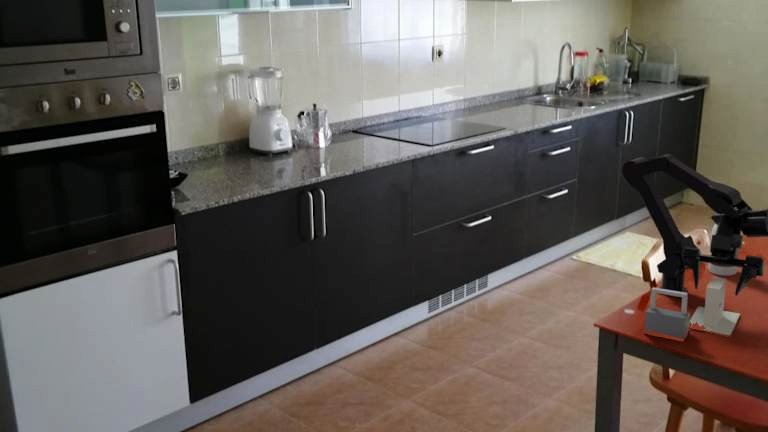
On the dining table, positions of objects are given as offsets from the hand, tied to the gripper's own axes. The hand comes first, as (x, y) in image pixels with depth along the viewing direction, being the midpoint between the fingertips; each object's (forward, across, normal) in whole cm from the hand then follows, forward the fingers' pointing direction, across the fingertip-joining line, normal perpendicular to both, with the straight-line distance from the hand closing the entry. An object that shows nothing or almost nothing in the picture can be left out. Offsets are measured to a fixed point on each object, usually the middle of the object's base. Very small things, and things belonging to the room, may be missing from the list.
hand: (715, 291), depth 194 cm
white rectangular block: (+5, 0, +5) cm, 8 cm away
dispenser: (+14, -8, -2) cm, 17 cm away
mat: (+6, 0, +6) cm, 8 cm away
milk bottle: (-21, -4, +33) cm, 40 cm away
